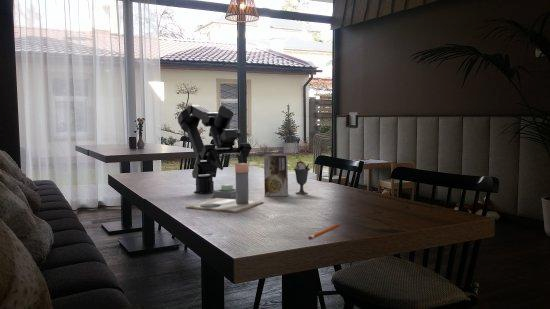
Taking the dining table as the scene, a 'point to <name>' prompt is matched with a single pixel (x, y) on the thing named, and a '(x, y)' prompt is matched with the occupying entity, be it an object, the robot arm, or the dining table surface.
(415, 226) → the dining table surface
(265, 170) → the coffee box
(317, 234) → the pencil
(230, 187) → the button
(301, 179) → the sundae
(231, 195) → the button collar
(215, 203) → the board
